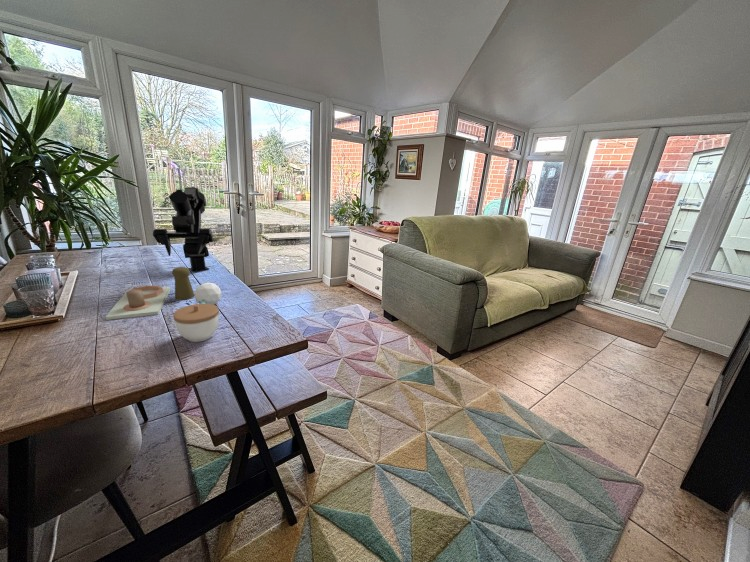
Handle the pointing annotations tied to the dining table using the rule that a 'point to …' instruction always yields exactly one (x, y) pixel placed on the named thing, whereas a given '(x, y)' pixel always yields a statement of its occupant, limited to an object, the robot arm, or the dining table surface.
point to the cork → (182, 284)
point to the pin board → (142, 312)
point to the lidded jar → (197, 321)
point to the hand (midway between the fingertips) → (183, 254)
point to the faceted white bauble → (207, 293)
